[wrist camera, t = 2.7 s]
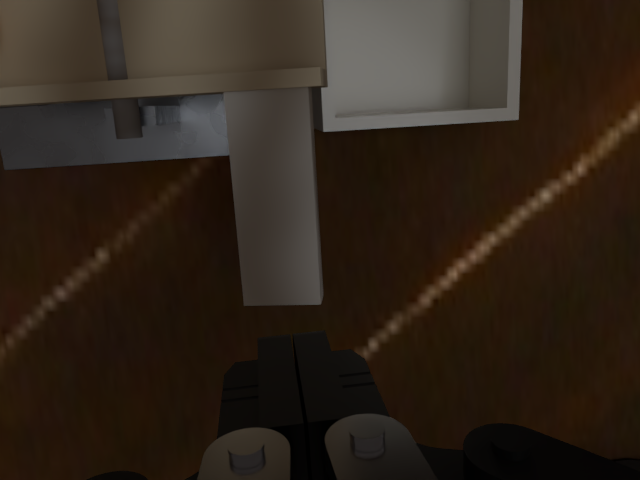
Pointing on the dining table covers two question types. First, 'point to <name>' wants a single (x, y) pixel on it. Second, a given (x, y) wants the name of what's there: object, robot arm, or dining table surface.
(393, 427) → the robot arm
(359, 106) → the open grey tray box
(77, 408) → the dining table surface
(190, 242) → the dining table surface
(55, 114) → the stand
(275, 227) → the chute
